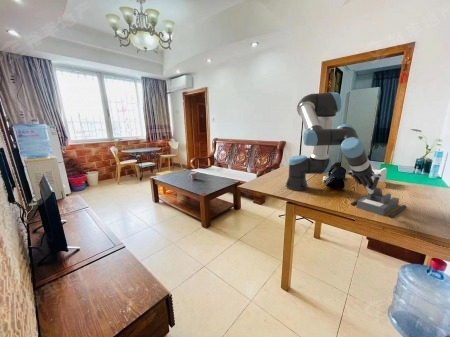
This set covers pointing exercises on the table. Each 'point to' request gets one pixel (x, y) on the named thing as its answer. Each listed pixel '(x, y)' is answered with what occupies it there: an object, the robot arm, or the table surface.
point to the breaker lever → (379, 189)
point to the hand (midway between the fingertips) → (371, 191)
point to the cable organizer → (381, 172)
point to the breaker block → (378, 203)
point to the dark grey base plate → (391, 214)
